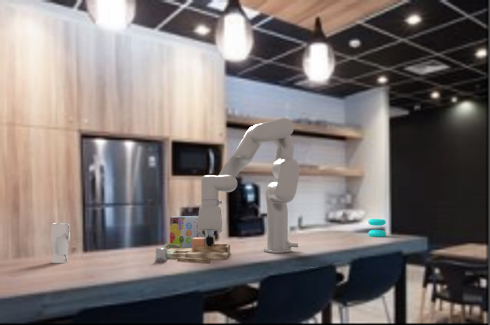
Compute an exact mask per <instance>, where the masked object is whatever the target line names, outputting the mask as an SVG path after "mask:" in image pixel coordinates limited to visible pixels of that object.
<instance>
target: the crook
mask: <svg viewBox="0 0 490 325" xmlns="http://www.w3.org/2000/svg"><path fill="white" fill-rule="evenodd" d="M176 260H177V261H176V262H185V261H189V262H188V263H197V262H198V264H199V263H200V264H210V263H211V259H198V258H187V256H181V257H178V258H177V259H176Z"/></svg>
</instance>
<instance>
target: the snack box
mask: <svg viewBox="0 0 490 325" xmlns="http://www.w3.org/2000/svg"><path fill="white" fill-rule="evenodd" d="M198 216H199V215H197V216H196V215H191V216H190V215H188V216H186V215H185V216H179V215H178V216H170V220H169V221H170V222H169V225H170V226H169V229H170V230H169V243H170V244H178V245H180V248H192V239H193V238H206V237H205V235H204V234H203V233H200V232H198ZM208 231H209V236H210V235H211V230H208ZM215 240H216V234H215V235H214V236H213V244H216V242H215Z"/></svg>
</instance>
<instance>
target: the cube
mask: <svg viewBox="0 0 490 325" xmlns="http://www.w3.org/2000/svg"><path fill="white" fill-rule="evenodd" d="M195 247H206V238H193V239H192V251H195Z"/></svg>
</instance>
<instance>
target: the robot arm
mask: <svg viewBox="0 0 490 325" xmlns="http://www.w3.org/2000/svg"><path fill="white" fill-rule="evenodd" d="M294 129H295V126H294V122H293V121H292V120H291V119H289V118H287V117H282V118H278V119H273V120H270V121H266V122H262V123H258V124H254V125H253V126H250V127H249V128H248V129H247V131H246V132H245V134H244V135H243V138H242V139H241V140H240V143H239V144H238V146H237V147H236V149H235V150H234V152H233V153H232V155H230V157H229V159H228V160H227V162H226V163H225V164H224V165H223V167H222V168H221V171H220V172H219V174H218V175H213V174H212V175H210V174H207V175H206V174H205V175H203V176H202V177H201V179H200V180H201V184H200V186H201V187H200V188H201V194H200V195H201V197H200V198H201V201H200V202H201V203H200V204H201V206H199V210H198V215H197V216H198V232H200V233H203V234H204V235H205V237H206V244H207V246H208V247H209V246H210V247H211V246H212V244H213V236H214V235H215V236H216V235H217V234H220V233H222V232H223V229H222V228H223V217H222V208H221V206H220V205H222V204H223V201H222V200H220V199H219V198H220V197H219V196H220V195H219V194H220V193H219V192H223V193H231V192H233V191H235V190H236V188H237V187H238V180H237V179H236V177H237V176H238V175H239V174H240V172H241V171H242V170H243V169H244V168H245V167H246V166H248V165H249V164H250V163H251V162H252V160H253V158H254V157H255V155H256V153H257V152H258V150H259V148H260V147H261V146H262V144H263V143H266V142H271V141H273V142H274V144H275V154H274V158H273V162H272V168H271V173H272V175H273V177H274V178H276V179H277V181H273V182H270V183H269V184H268V185H267V186H266V189H265V194H264V196H265V201H266V247H263V252H266V253H273V254H280V253H282V254H284V252H285V253H290V252H292V248H299V243H298V242H290V241H289V233H288V232H289V231H288V230H289V229H288V228H289V223H288V222H289V221H288V219H289V217H288V216H289V215H288V213H289V212H288V203H291V202H292V201H293V200H294V198H295V196H296V194H297V191H298V190H297V189H298V183H299V178H300V170H301V169H300V165H299V163H298V161H297V160H296V159H294V152H295V144H294V141H293V139H292V136H291V135H292V134H293V132H294ZM208 230H211V235H210V236H209V231H208Z"/></svg>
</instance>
